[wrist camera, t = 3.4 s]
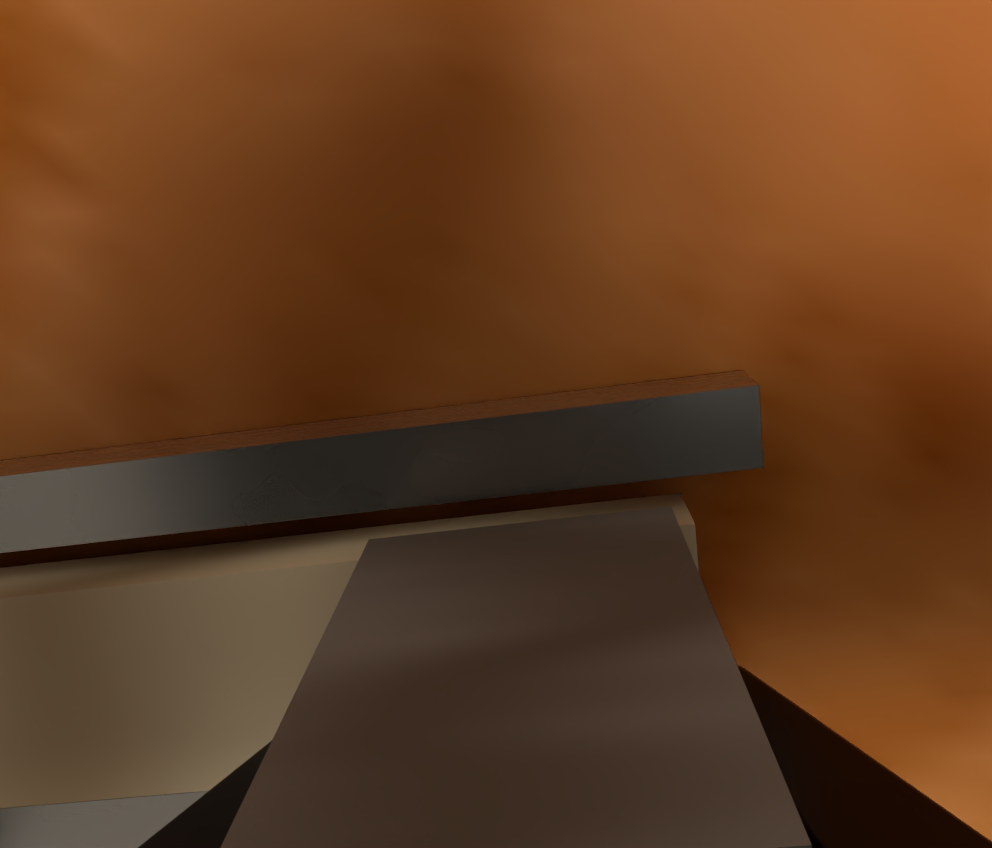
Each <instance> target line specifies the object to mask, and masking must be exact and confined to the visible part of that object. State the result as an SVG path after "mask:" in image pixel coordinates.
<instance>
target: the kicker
mask: <svg viewBox="0 0 992 848" xmlns="http://www.w3.org/2000/svg"><path fill="white" fill-rule="evenodd" d="M270 741H272V742H271V744H270V746H269V748H268V750H267V752H266V754H265V756H264V758H263V760H262V762H261V764H260V766H259V769H258V771H257V773H256V775H255V777H254V779H253V781H252V783H251V785H250V787H249V789H248V791H247V793H246V796H245V798H244V800H243V802H242V804H241V806H240V808H239V810H238V812H237V814H236V816H235V818H234V820H233V823H232V825H231V827H230V829H229V831H228V833H227V835H226V837H225V839H224V841H223V843H222V845H221V848H812V845H811V842H810V840H809V837H808V835H807V833H806V830H805V828H804V825H803V823H802V821H801V818H800V816H799V813H798V811H797V808H796V806H795V804H794V801H793V799H792V796H791V794H790V792H789V789H788V787H787V784H786V782H785V780H784V777H783V775H782V772H781V770H780V767H779V765H778V763H777V760H776V758H775V755H774V753H773V751H772V748H771V746H770V743H769V741H768V739H767V736H766V734H765V731H764V729H763V726H762V724H761V722H760V719H759V717H758V714H757V712H756V710H755V707H754V705H753V702H752V700H751V698H750V695H749V693H748V690H747V688H746V686H745V683H744V681H743V678H742V676H741V673H740V671H739V669H738V666H737V664H736V661H735V659H734V657H733V654H732V652H731V649H730V647H729V645H728V642H727V640H726V637H725V635H724V632H723V630H722V628H721V625H720V623H719V620H718V618H717V616H716V613H715V611H714V608H713V606H712V604H711V601H710V599H709V596H708V594H707V592H706V589H705V587H704V584H703V582H702V579H701V577H700V575H699V567H698V555H697V542H696V529H695V523H694V521H693V519H692V517H691V514H690V512H689V510H688V508H687V506H686V504H685V501H684V499H683V497H682V495H681V493H676V494H667V495H658V496H649V497H640V498H631V499H621V500H612V501H603V502H594V503H585V504H576V505H567V506H558V507H549V508H540V509H531V510H522V511H513V512H503V513H494V514H485V515H476V516H467V517H458V518H449V519H440V520H431V521H422V522H413V523H404V524H395V525H385V526H376V527H367V528H358V529H349V530H340V531H331V532H322V533H313V534H304V535H295V536H286V537H277V538H267V539H258V540H249V541H240V542H231V543H222V544H213V545H204V546H195V547H186V548H177V549H168V550H159V551H149V552H140V553H131V554H122V555H113V556H104V557H95V558H86V559H77V560H68V561H59V562H50V563H41V564H31V565H22V566H13V567H4V568H0V808H9V807H21V806H33V805H45V804H57V803H69V802H81V801H93V800H105V799H117V798H129V797H141V796H152V795H164V794H176V793H188V792H200V791H209V790H210V789H212V788H213V787H214V786H215V785H217V784H218V783H219V782H220V781H222V780H223V779H224V778H225V777H227V776H228V775H229V774H230V773H232V772H233V771H234V770H235V769H237V768H238V767H239V766H240V765H242V764H243V763H244V762H245V761H247V760H248V759H249V758H250V757H252V756H253V755H254V754H255V753H257V752H258V751H259V750H260V749H262V748H263V747H264V746H265V745H267V744H268V743H269V742H270Z"/></svg>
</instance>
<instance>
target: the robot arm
mask: <svg viewBox="0 0 992 848" xmlns="http://www.w3.org/2000/svg"><path fill="white" fill-rule="evenodd" d="M738 669H739V671H740V673H741V676H742V678H743V681H744V683H745V686H746V688H747V690H748V693H749V695H750V698H751V700H752V702H753V705H754V707H755V710H756V712H757V714H758V717H759V719H760V722H761V724H762V726H763V729H764V731H765V734H766V736H767V739H768V741H769V743H770V746H771V748H772V751H773V753H774V755H775V758H776V760H777V763H778V765H779V767H780V770H781V772H782V775H783V777H784V780H785V782H786V784H787V787H788V789H789V792H790V794H791V796H792V799H793V801H794V804H795V806H796V808H797V811H798V813H799V816H800V818H801V821H802V823H803V825H804V828H805V830H806V833H807V835H808V837H809V840H810V842H811V845H812V848H992V841H990V840H989V839H987V838H986V837H984V836H983V835H982V834H980V833H979V832H977V831H976V830H974V829H973V828H972V827H970V826H969V825H967V824H966V823H964V822H963V821H962V820H960V819H959V818H957V817H956V816H954V815H953V814H952V813H950V812H949V811H947V810H946V809H944V808H943V807H942V806H940V805H939V804H937V803H936V802H934V801H933V800H932V799H930V798H929V797H927V796H926V795H924V794H923V793H922V792H920V791H919V790H917V789H916V788H914V787H913V786H912V785H910V784H909V783H907V782H906V781H904V780H903V779H902V778H900V777H899V776H897V775H896V774H894V773H893V772H892V771H890V770H889V769H887V768H886V767H884V766H883V765H882V764H880V763H879V762H877V761H876V760H875V759H873V758H872V757H870V756H869V755H867V754H866V753H865V752H863V751H862V750H860V749H859V748H857V747H856V746H855V745H853V744H852V743H850V742H849V741H847V740H846V739H845V738H843V737H842V736H840V735H839V734H837V733H836V732H835V731H833V730H832V729H830V728H829V727H827V726H826V725H825V724H823V723H822V722H820V721H819V720H817V719H816V718H815V717H813V716H812V715H810V714H809V713H807V712H806V711H805V710H803V709H802V708H800V707H799V706H797V705H796V704H795V703H793V702H792V701H790V700H789V699H787V698H786V697H785V696H783V695H782V694H780V693H779V692H777V691H776V690H775V689H773V688H772V687H770V686H769V685H767V684H766V683H765V682H763V681H762V680H760V679H759V678H757V677H756V676H755V675H753V674H752V673H750V672H749V671H747V670H746V669H745V668H743V667H741V666H738ZM271 742H272V741H270V742H269V743H268V744H267V745H265V746H264V747H263V748H262V749H260V750H259V751H258V752H257V753H255V754H254V755H253V756H252V757H250V758H249V759H248V760H247V761H245V762H244V763H243V764H242V765H240V766H239V767H238V768H237V769H235V770H234V771H233V772H232V773H230V774H229V775H228V776H227V777H225V778H224V779H223V780H222V781H220V782H219V783H218V784H217V785H215V786H214V787H213V788H212V789H210V790H209V791H208V792H207V793H205V794H204V795H203V796H202V797H200V798H199V799H198V800H197V801H195V802H194V803H193V804H192V805H190V806H189V807H188V808H187V809H185V810H184V811H183V812H182V813H180V814H179V815H178V816H177V817H175V818H174V819H173V820H172V821H170V822H169V823H168V824H167V825H165V826H164V827H163V828H162V829H160V830H159V831H158V832H157V833H155V834H154V835H153V836H152V837H150V838H149V839H148V840H147V841H145V842H144V843H143V844H142V845H140V846H139V847H138V848H221V845H222V843H223V841H224V839H225V837H226V835H227V833H228V831H229V829H230V827H231V825H232V823H233V820H234V818H235V816H236V814H237V812H238V810H239V808H240V806H241V804H242V802H243V800H244V798H245V796H246V793H247V791H248V789H249V787H250V785H251V783H252V781H253V779H254V777H255V775H256V773H257V771H258V769H259V766H260V764H261V762H262V760H263V758H264V756H265V754H266V752H267V750H268V748H269V746H270V744H271Z"/></svg>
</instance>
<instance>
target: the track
mask: <svg viewBox="0 0 992 848" xmlns="http://www.w3.org/2000/svg"><path fill="white" fill-rule="evenodd" d="M757 468H764V467H763V448H762V429H761V411H760V392H759V385H758V384H757V383H756V382H755V381H754V380H753V379H752V378H751V377H749V376H748V375H747V374H746V373H745V372H744V371H743V370H740V371H732V372H724V373H716V374H708V375H699V376H691V377H683V378H675V379H667V380H658V381H650V382H642V383H634V384H626V385H617V386H609V387H601V388H593V389H585V390H576V391H568V392H560V393H552V394H544V395H535V396H527V397H519V398H511V399H503V400H494V401H486V402H478V403H470V404H462V405H453V406H445V407H437V408H429V409H421V410H412V411H404V412H396V413H388V414H380V415H371V416H363V417H355V418H347V419H339V420H330V421H322V422H314V423H306V424H298V425H289V426H281V427H273V428H265V429H257V430H248V431H240V432H232V433H224V434H216V435H207V436H199V437H191V438H183V439H175V440H166V441H158V442H150V443H142V444H134V445H125V446H117V447H109V448H101V449H93V450H84V451H76V452H68V453H60V454H52V455H43V456H35V457H27V458H19V459H11V460H2V461H0V553H5V552H14V551H23V550H32V549H41V548H50V547H59V546H68V545H77V544H86V543H95V542H104V541H113V540H122V539H131V538H139V537H148V536H157V535H166V534H175V533H184V532H193V531H202V530H211V529H220V528H229V527H238V526H247V525H256V524H265V523H274V522H283V521H292V520H300V519H309V518H318V517H327V516H336V515H345V514H354V513H363V512H372V511H381V510H390V509H399V508H408V507H417V506H426V505H435V504H444V503H453V502H461V501H470V500H479V499H488V498H497V497H506V496H515V495H524V494H533V493H542V492H551V491H560V490H569V489H578V488H587V487H596V486H605V485H614V484H622V483H631V482H640V481H649V480H658V479H667V478H676V477H685V476H694V475H703V474H712V473H721V472H730V471H739V470H748V469H757ZM207 792H208V791H200V792H188V793H176V794H164V795H152V796H141V797H129V798H117V799H105V800H93V801H81V802H69V803H57V804H45V805H33V806H21V807H9V808H0V848H138V847H139V846H140V845H142V844H143V843H144V842H145V841H147V840H148V839H149V838H150V837H152V836H153V835H154V834H155V833H157V832H158V831H159V830H160V829H162V828H163V827H164V826H165V825H167V824H168V823H169V822H170V821H172V820H173V819H174V818H175V817H177V816H178V815H179V814H180V813H182V812H183V811H184V810H185V809H187V808H188V807H189V806H190V805H192V804H193V803H194V802H195V801H197V800H198V799H199V798H200V797H202V796H203V795H204V794H205V793H207Z"/></svg>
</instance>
